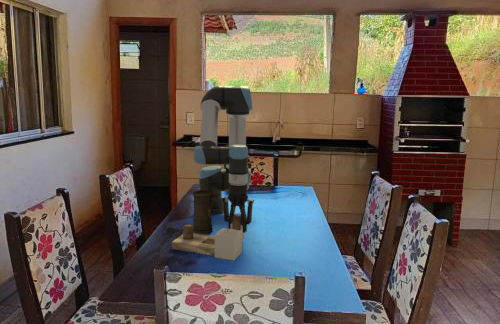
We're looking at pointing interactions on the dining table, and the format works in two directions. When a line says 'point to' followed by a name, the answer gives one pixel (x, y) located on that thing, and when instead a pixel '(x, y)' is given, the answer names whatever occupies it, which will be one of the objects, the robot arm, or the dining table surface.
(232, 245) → the block
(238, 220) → the peg
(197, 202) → the container
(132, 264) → the dining table surface
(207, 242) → the board
